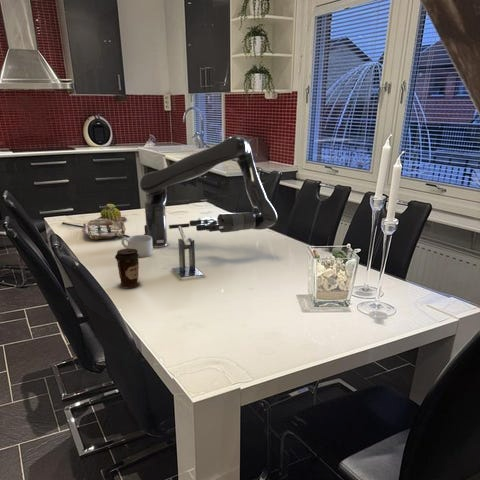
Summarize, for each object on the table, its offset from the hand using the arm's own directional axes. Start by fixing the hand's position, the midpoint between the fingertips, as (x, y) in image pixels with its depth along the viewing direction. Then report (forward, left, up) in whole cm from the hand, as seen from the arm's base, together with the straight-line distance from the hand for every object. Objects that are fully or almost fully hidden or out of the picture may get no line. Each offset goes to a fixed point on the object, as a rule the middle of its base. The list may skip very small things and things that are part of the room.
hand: (193, 225), depth 185 cm
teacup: (-30, +4, -17) cm, 34 cm away
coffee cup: (-11, -30, -17) cm, 36 cm away
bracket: (+2, -10, -17) cm, 20 cm away
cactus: (-82, +57, -17) cm, 101 cm away
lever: (-1, -7, -3) cm, 8 cm away
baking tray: (-65, +28, -17) cm, 73 cm away
